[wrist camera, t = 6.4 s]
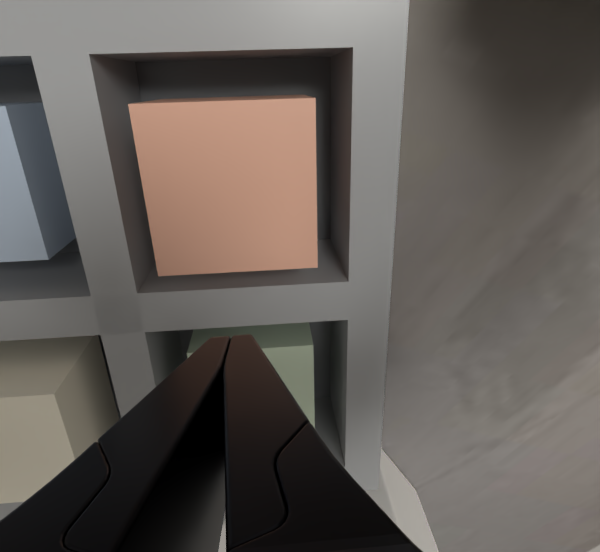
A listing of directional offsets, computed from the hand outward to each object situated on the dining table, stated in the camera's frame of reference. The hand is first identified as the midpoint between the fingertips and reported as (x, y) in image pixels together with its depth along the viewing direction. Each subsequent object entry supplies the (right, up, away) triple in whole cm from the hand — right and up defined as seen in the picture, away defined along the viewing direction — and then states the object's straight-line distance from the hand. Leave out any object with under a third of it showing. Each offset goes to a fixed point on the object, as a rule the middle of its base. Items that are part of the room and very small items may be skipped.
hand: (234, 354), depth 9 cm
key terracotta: (-1, +6, +8) cm, 10 cm away
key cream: (-10, -3, +11) cm, 15 cm away
